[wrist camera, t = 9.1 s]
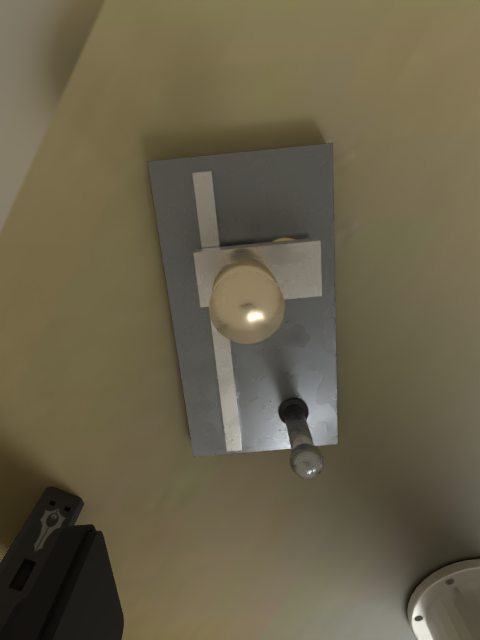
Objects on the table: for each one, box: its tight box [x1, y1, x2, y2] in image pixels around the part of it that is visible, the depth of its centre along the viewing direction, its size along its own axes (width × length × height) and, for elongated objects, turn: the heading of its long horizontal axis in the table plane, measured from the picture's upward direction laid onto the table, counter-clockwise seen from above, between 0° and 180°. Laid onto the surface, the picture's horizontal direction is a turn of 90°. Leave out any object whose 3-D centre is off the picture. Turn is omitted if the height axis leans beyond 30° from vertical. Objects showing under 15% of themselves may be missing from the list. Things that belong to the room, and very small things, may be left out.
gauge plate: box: [147, 143, 338, 479], centre depth 27 cm, size 12×23×9 cm, turn 5°
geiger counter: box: [0, 487, 84, 632], centre depth 30 cm, size 10×4×15 cm, turn 151°
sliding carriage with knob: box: [193, 238, 322, 344], centre depth 23 cm, size 8×4×9 cm, turn 95°
